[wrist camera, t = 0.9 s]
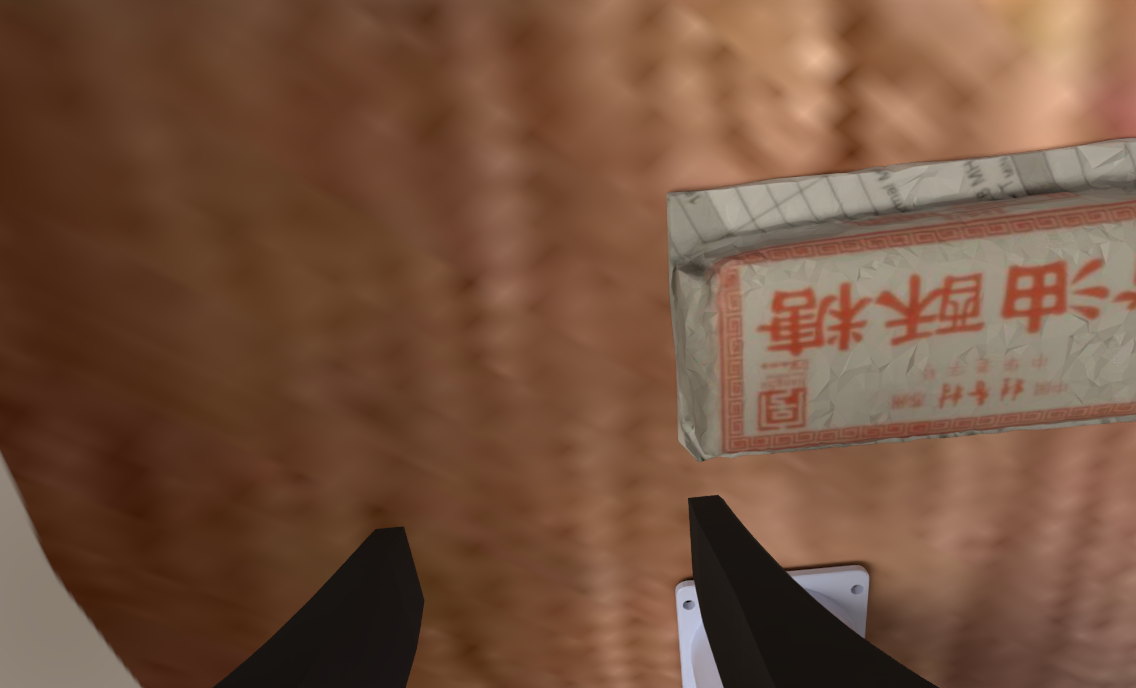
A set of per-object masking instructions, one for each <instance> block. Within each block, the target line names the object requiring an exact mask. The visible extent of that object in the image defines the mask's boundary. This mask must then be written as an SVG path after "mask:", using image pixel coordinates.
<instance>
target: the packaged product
mask: <svg viewBox="0 0 1136 688" xmlns="http://www.w3.org/2000/svg"><path fill="white" fill-rule="evenodd" d="M667 225H668V261H669V295H670V306H671V316H672V326H673V336H674V347H675V357H676V371H677V410H678V441H679V442H680V443H681V444H682V445H683V446H684V447H685V448H686V449H687V450H688V452H689V453H690V454H691V455H692V456H693V457H694V458H695V459H696V460H697V461H698V462H702V461H705V460H708V459H711V458H714V457H718V456H720V457H728V458H734V457H739V456H744V455H759V454H772V453H780V452H792V451H803V450H814V449H823V448H830V447H848V446H853V445H868V444H876V443H884V442H886V443H899V442H909V441H913V440H917V439H936V438H950V437H958V436H968V435H977V434H990V433H1001V432H1008V431H1012V430H1029V429H1051V428H1063V427H1074V426H1082V425H1095V424H1106V423H1113V422H1132V421H1136V137H1135V138H1124V139H1112V140H1107V141H1102V142H1096V143H1091V144H1086V145H1081V146H1074V147H1066V148H1057V149H1048V150H1039V151H1030V152H1022V153H1013V154H1004V155H995V156H987V157H978V158H970V159H962V160H955V161H937V162H914V163H902V164H895V165H889V166H886V167H882V166H878V167H871V168H866V169H862V170H857V171H853V172H848V173H836V174H825V175H814V176H802V177H791V178H779V179H769V180H763V181H757V182H751V183H745V184H739V185H733V186H727V187H721V188H715V189H709V190H703V191H687V192H669V193H667Z"/></svg>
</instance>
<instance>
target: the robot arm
mask: <svg viewBox="0 0 1136 688" xmlns="http://www.w3.org/2000/svg"><path fill="white" fill-rule="evenodd" d="M688 504H689V520H690V537H691V553H692V570H693V579H694V580H690V581H684V582H681V583H679V584H678V585H677V587H676V589H675V595H676V608H677V621H678V635H679V648H680V661H681V674H682V688H939V687H937V686H936V685H934V684H932V683H930V682H929V681H927V680H925V679H924V678H922V677H920V676H919V675H917V674H916V673H914V672H912V671H911V670H909V669H908V668H906V667H905V666H903V665H902V664H900V663H899V662H897V661H896V660H894V659H893V658H892V657H890V656H889V655H887V654H886V653H884V652H883V651H881V650H880V649H878V648H877V647H875V646H874V645H872V644H871V643H869V642H868V641H867V640H865V629H866V617H867V604H868V592H869V579H870V578H869V574H868V573H867V571H866V569H865V568H864V567H862V566H860V565H850V566H839V567H829V568H818V569H807V570H797V571H785V570H784V569H783V568H782V567H781V566H780V565H779V564H778V563H777V562H776V561H775V560H774V558H773V557H772V556H771V555H770V554H769V553H768V552H767V551H766V550H765V549H764V548H763V547H762V546H761V545H760V544H759V542H758V541H757V540H756V539H755V538H754V537H753V536H752V535H751V533H750V532H749V531H748V530H747V529H746V527H745V526H744V525H743V524H742V523H741V521H740V520H739V519H738V518H737V517H736V515H735V514H734V513H733V512H732V510H731V509H730V508H729V506H728V505H727V504H726V502H725V501H724V499H722V498H721V497H720V496H719V495H713V496H703V497H693V498H688ZM855 585H857V586H856V587H853V586H855ZM688 600H691V602H688V603H686V602H685V601H688ZM423 607H424V597H423V594H422V590H421V586H420V583H419V579H418V576H417V572H416V569H415V565H414V561H413V558H412V554H411V551H410V547H409V543H408V540H407V536H406V533H405V529H404V527H394V528H384V529H375V530H374V532H373V533H372V534H371V535H370V536H369V537H368V538H367V539H366V540H365V541H364V542H363V543H362V544H361V545H360V546H359V547H358V549H357V550H356V551H355V552H354V553H353V554H352V555H351V556H350V557H349V558H348V559H347V561H346V562H345V563H344V564H343V565H342V566H341V567H340V568H339V569H338V570H337V572H336V573H335V574H334V575H333V576H332V577H331V578H330V579H329V580H328V581H327V582H326V583H325V584H324V585H323V586H322V587H321V589H320V590H319V591H318V592H317V593H316V594H315V595H314V596H313V597H312V598H311V599H310V600H309V601H308V602H307V603H306V604H305V605H304V606H303V607H302V608H301V609H300V610H299V611H298V612H297V613H296V614H295V615H294V616H293V617H292V618H291V619H290V620H289V621H288V622H287V623H286V624H285V625H284V626H283V627H282V628H281V629H280V630H279V631H278V632H277V633H276V634H275V635H273V636H272V637H271V638H270V639H269V640H268V641H267V642H266V643H265V644H264V645H263V646H262V647H261V648H259V649H258V650H257V651H256V652H255V653H254V654H253V655H251V656H250V657H249V658H248V659H247V660H246V661H245V662H243V663H242V664H241V665H240V666H239V667H237V668H236V669H235V670H234V671H233V672H231V673H230V674H229V675H228V676H227V677H225V678H224V679H223V680H222V681H221V682H219V683H218V684H217V685H216V686H214V687H213V688H406V684H407V681H408V677H409V674H410V670H411V667H412V663H413V660H414V656H415V653H416V649H417V644H418V638H419V632H420V627H421V620H422V613H423Z"/></svg>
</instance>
